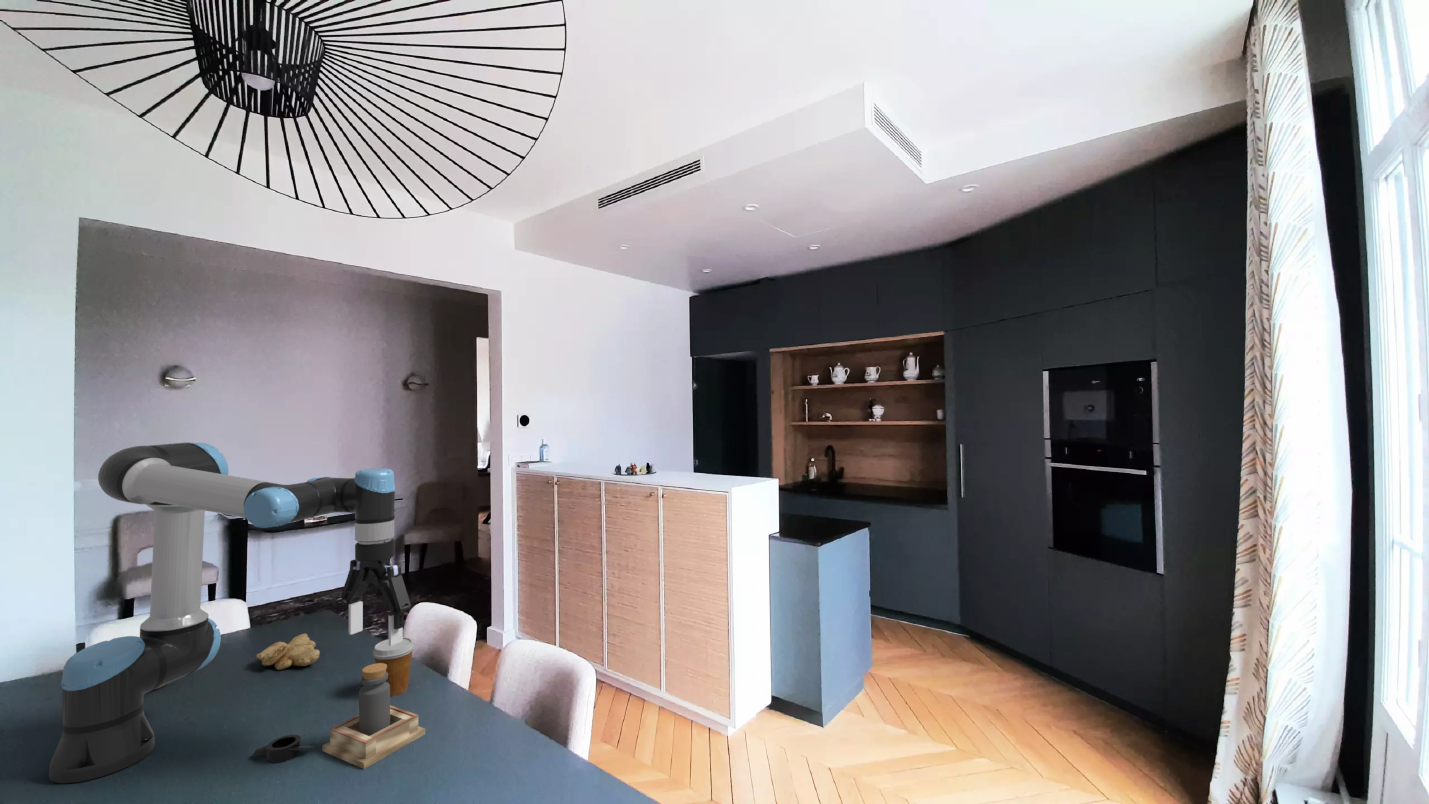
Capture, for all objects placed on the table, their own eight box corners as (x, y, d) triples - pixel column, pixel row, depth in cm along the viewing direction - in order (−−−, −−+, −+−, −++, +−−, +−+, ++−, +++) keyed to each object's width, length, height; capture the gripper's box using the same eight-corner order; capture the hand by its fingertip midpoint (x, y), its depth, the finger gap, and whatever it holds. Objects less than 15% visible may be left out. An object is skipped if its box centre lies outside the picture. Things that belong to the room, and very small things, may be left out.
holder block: (322, 750, 125) (322, 729, 125) (384, 719, 137) (384, 699, 137) (364, 769, 119) (364, 746, 119) (425, 734, 131) (425, 713, 131)
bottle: (376, 745, 125) (376, 674, 125) (352, 742, 126) (352, 672, 126) (396, 730, 130) (396, 662, 130) (373, 727, 132) (373, 660, 132)
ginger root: (259, 653, 171) (267, 626, 171) (322, 657, 177) (330, 630, 178) (242, 678, 156) (251, 648, 157) (311, 681, 163) (320, 652, 164)
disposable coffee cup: (382, 703, 145) (382, 654, 145) (365, 692, 150) (365, 645, 150) (421, 688, 152) (421, 642, 152) (404, 678, 158) (403, 633, 158)
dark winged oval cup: (289, 741, 129) (289, 727, 129) (317, 752, 125) (317, 738, 125) (249, 760, 122) (249, 746, 122) (277, 772, 118) (277, 758, 118)
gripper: (429, 542, 126) (429, 641, 126) (356, 531, 137) (356, 622, 137) (396, 550, 119) (396, 655, 119) (322, 538, 130) (322, 633, 130)
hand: (375, 637), depth 128 cm, fingers open, 13 cm apart
